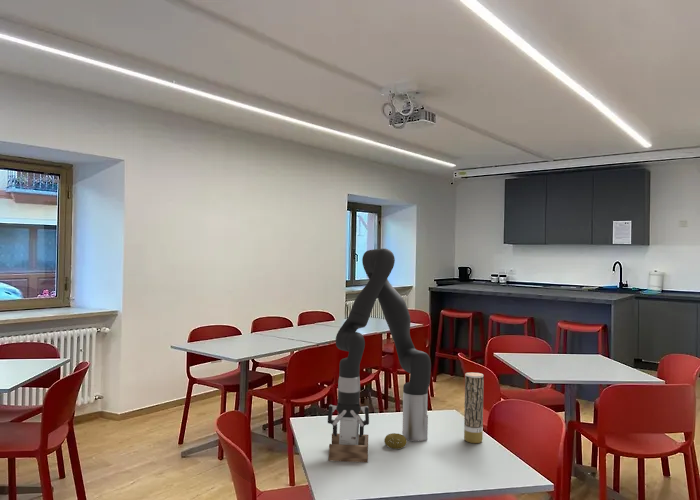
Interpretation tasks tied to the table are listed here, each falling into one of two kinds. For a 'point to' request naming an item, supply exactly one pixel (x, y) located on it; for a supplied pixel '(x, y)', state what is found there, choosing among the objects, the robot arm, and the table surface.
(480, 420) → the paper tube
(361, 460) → the u rest
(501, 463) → the table surface
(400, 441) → the sculpture
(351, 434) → the skincare box
